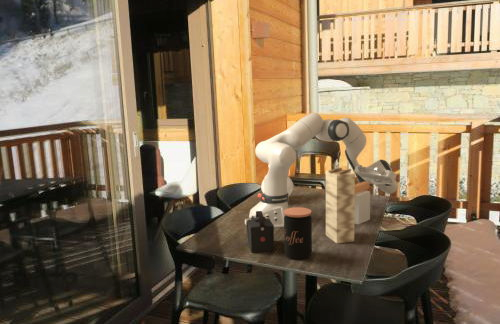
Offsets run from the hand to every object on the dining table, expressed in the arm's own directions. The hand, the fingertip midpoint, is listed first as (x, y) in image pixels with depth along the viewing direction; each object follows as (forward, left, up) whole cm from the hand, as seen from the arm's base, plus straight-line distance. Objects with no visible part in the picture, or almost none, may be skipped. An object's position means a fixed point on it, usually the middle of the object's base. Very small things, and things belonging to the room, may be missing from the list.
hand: (367, 167), depth 223 cm
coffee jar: (-51, -38, -24) cm, 68 cm away
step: (-9, -5, -24) cm, 26 cm away
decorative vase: (-35, +37, -24) cm, 56 cm away
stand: (-27, -26, -24) cm, 45 cm away
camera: (-62, -24, -24) cm, 71 cm away
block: (-9, -5, -10) cm, 15 cm away
